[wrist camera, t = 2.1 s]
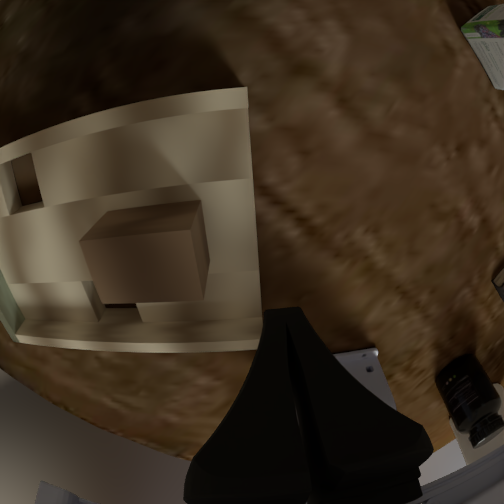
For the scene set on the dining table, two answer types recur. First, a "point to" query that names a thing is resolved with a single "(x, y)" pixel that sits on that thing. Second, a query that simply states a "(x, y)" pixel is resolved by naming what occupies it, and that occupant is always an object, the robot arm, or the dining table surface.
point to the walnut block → (149, 254)
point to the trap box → (129, 196)
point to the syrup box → (488, 41)
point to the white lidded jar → (475, 454)
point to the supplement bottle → (471, 399)
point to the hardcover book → (499, 283)
